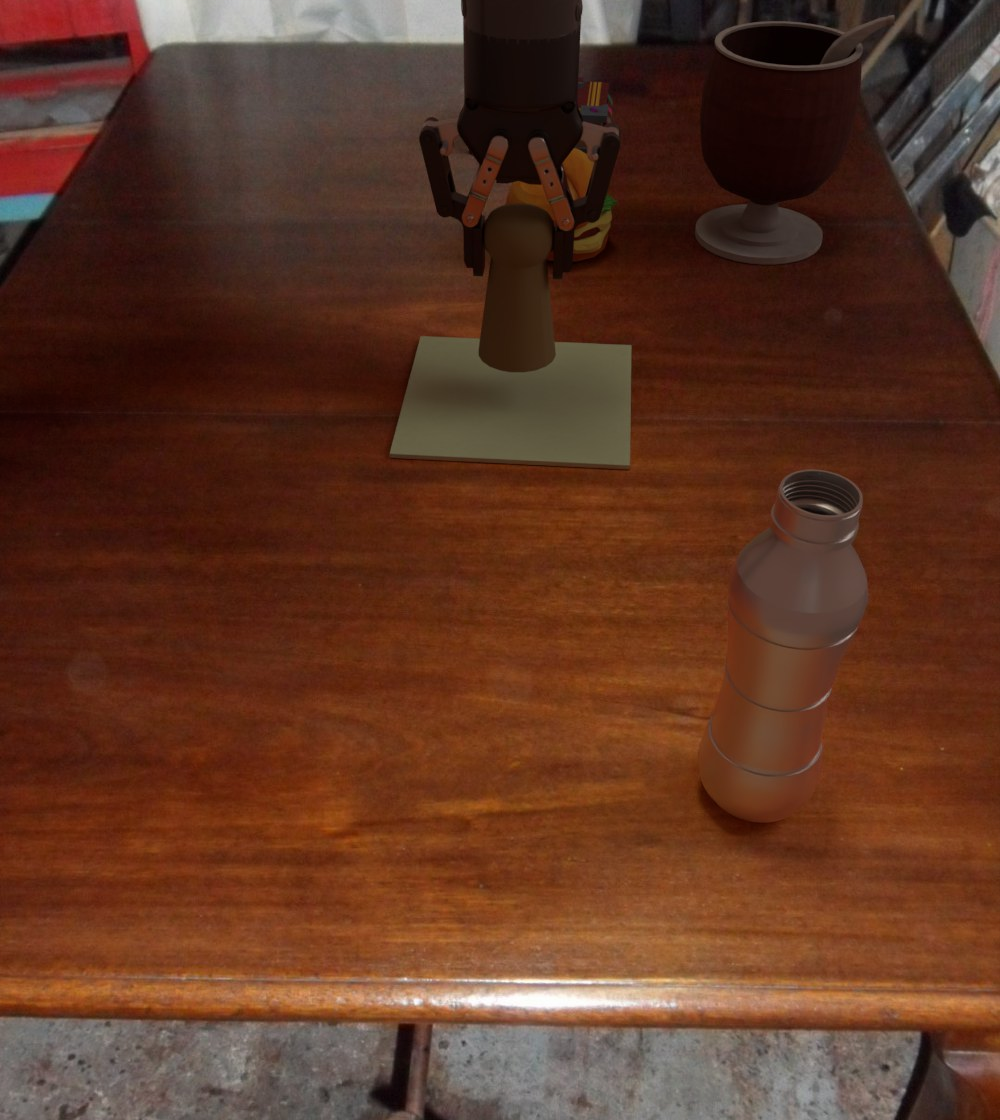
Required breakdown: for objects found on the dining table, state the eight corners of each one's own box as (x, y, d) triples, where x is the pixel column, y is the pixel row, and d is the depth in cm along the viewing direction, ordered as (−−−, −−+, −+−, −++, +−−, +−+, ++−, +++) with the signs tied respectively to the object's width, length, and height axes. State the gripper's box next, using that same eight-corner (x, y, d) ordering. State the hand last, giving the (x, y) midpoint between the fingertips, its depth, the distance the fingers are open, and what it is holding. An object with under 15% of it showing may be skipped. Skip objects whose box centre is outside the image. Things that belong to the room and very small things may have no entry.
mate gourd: (673, 257, 113) (699, 22, 99) (700, 199, 122) (727, -23, 108) (839, 279, 110) (890, 39, 95) (853, 218, 119) (902, -8, 105)
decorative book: (479, 116, 138) (479, 70, 135) (618, 122, 137) (621, 75, 134) (468, 154, 131) (467, 105, 127) (614, 160, 129) (618, 111, 126)
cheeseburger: (630, 230, 117) (631, 135, 108) (590, 300, 112) (587, 207, 103) (536, 210, 119) (529, 116, 111) (492, 278, 115) (482, 185, 106)
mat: (389, 458, 89) (389, 453, 89) (420, 340, 102) (420, 335, 101) (629, 469, 88) (630, 465, 88) (631, 349, 101) (631, 344, 100)
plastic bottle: (752, 858, 63) (827, 558, 49) (667, 780, 67) (713, 481, 52) (837, 803, 66) (931, 504, 51) (750, 731, 69) (816, 434, 55)
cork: (464, 344, 93) (462, 202, 85) (532, 327, 95) (536, 187, 87) (500, 379, 89) (501, 235, 81) (570, 361, 91) (577, 218, 83)
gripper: (635, 1, 78) (616, 254, 90) (417, -5, 78) (427, 247, 90) (635, 37, 72) (615, 301, 84) (401, 30, 73) (414, 293, 85)
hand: (518, 272), depth 87 cm, fingers closed on cork, 5 cm apart
